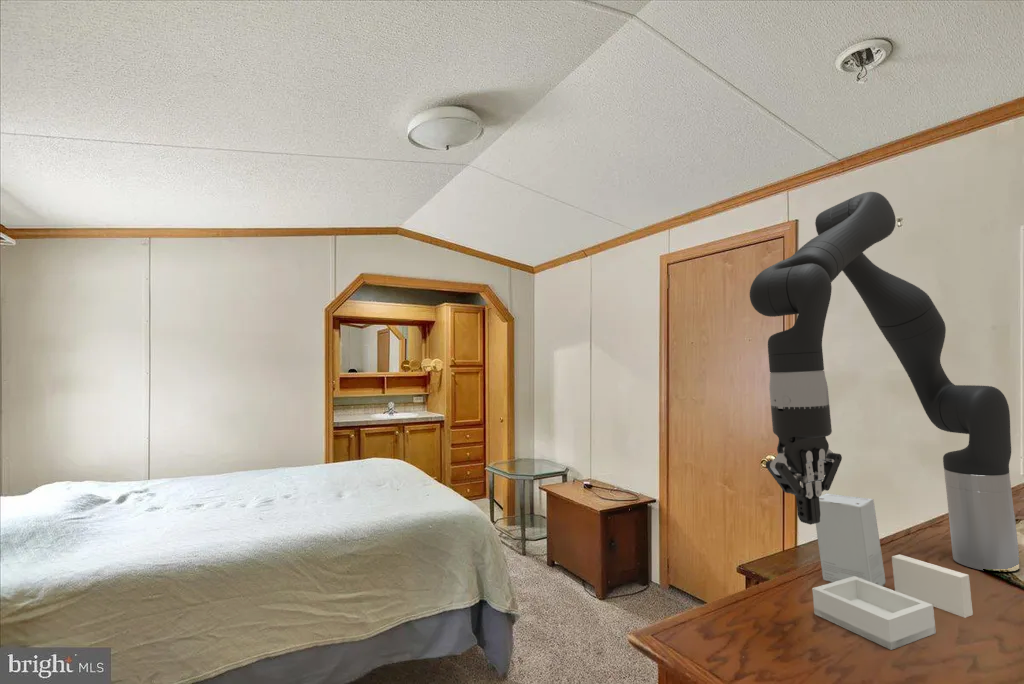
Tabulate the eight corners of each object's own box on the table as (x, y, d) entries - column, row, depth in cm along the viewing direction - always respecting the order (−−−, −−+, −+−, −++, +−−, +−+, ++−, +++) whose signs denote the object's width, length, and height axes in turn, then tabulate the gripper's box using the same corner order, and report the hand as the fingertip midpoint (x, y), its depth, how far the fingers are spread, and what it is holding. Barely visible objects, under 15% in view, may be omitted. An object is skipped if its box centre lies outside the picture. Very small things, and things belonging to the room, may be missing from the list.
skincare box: (886, 585, 90) (878, 499, 91) (870, 595, 86) (862, 505, 87) (834, 570, 97) (827, 491, 98) (818, 579, 93) (811, 497, 94)
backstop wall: (902, 590, 88) (899, 554, 88) (972, 615, 78) (968, 574, 79) (895, 592, 87) (891, 556, 87) (964, 618, 77) (960, 577, 78)
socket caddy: (856, 600, 85) (854, 576, 85) (935, 633, 74) (933, 604, 74) (814, 614, 81) (812, 588, 81) (891, 650, 70) (888, 620, 70)
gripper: (809, 398, 81) (818, 509, 80) (744, 404, 76) (754, 523, 75) (855, 399, 74) (866, 521, 73) (787, 407, 69) (798, 537, 68)
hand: (809, 522), depth 74 cm, fingers closed
